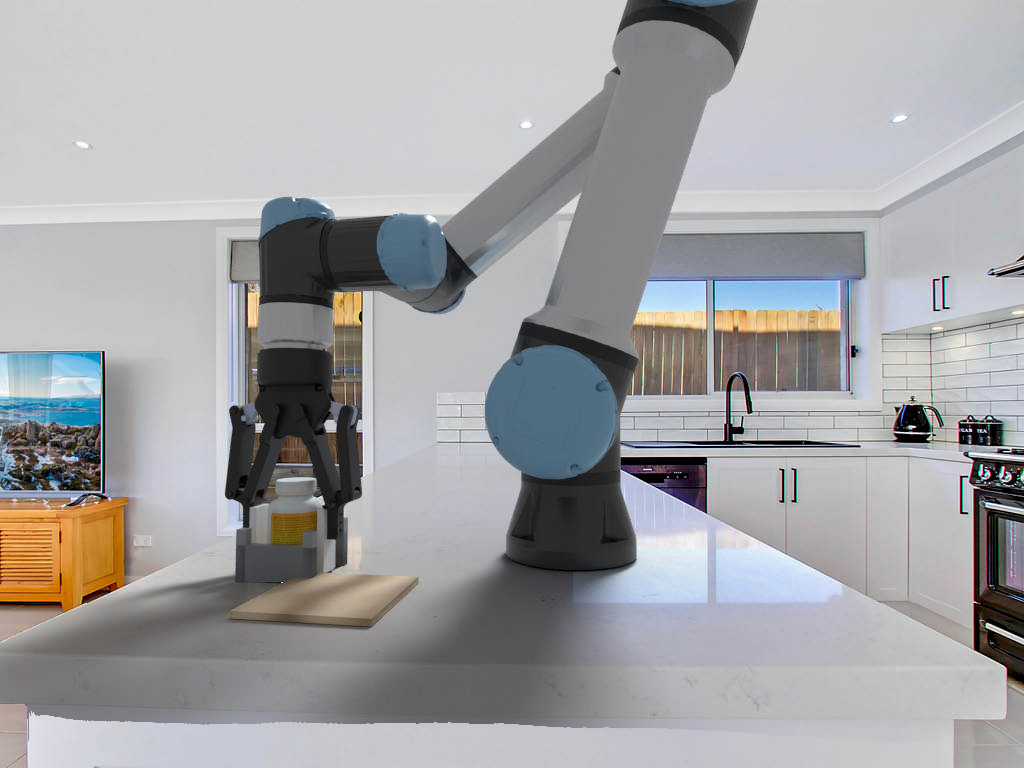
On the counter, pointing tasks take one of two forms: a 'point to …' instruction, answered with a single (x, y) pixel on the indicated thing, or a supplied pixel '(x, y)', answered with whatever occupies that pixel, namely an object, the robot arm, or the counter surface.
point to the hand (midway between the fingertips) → (292, 569)
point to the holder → (282, 557)
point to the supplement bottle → (292, 511)
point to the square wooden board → (328, 599)
